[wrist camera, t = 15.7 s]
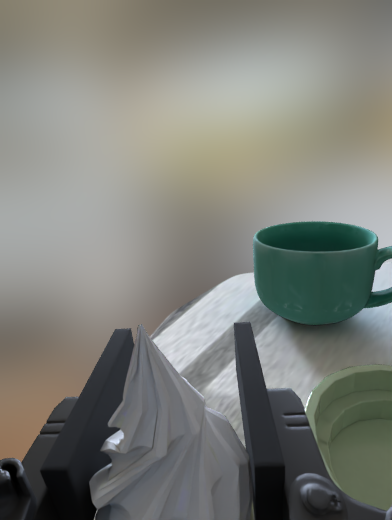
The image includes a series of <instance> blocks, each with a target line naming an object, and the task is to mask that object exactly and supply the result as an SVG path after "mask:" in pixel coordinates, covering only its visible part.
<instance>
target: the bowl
mask: <svg viewBox="0 0 392 520" xmlns="http://www.w3.org/2000/svg"><path fill="white" fill-rule="evenodd" d="M305 413H306V415H307V418H308V421H309V423H310V427H311V429H312V431H313V434H314V437H315V439H316V442H317V445H318V447H319V450H320V453H321V456H322V458H323V461H324V464H325V466H326V469H327V471H328V473H329V475H330V477H331V479H332V480H333V482H334V483H335V484H336V486H338V487H339V488H340V489H341V490H342V491H343V492H344V493H345V494H347V495H348V496H350V497H351V498H353V499H355V500H357V501H359V502H362V503H365V504H368V505H371V506H374V507H377V508H380V509H383V510H386V511H388V510H389V508H390V507H391V506H392V366H390V365H380V364H373V365H364V366H354V367H350V368H349V367H348V368H346V369H343V370H341V371H338V372H336V373H333V374H331V375H328V376H327V377H326V378H325V379H324V380H323V381H322V382H321V383H320V384H319V385H317V386H316V387H315V388H314V389H313V390H312V392H311V394H310V397H309V400H308V402H307V405H306V408H305Z"/></svg>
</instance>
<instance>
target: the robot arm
mask: <svg viewBox="0 0 392 520" xmlns="http://www.w3.org/2000/svg"><path fill="white" fill-rule="evenodd" d="M234 336H235V355H236V372H237V380H238V388H239V396H240V404H241V412H242V420H243V428H244V436H245V444H246V451H247V453H248V454H249V457H250V467H251V477H252V488H253V500H252V501H253V509H254V517H255V520H392V506H391V507H390V508H389V510H388V511H386V510H383V509H380V508H377V507H374V506H371V505H368V504H365V503H362V502H359V501H357V500H355V499H353V498H351V497H350V496H348V495H347V494H345V493H344V492H343V491H342V490H341V489H340V488H339V487H338V486H336V484H335V483H334V482H333V480H332V479H331V477H330V475H329V473H328V471H327V469H326V466H325V464H324V461H323V458H322V456H321V453H320V450H319V447H318V445H317V442H316V439H315V437H314V434H313V431H312V429H311V427H310V423H309V421H308V418H307V415H306V413H305V410H304V407H303V404H302V402H301V399H300V398H299V397H298V396H297V395H296V394H295V392H294V391H293V390H292V389H291V388H281V389H266V385H265V381H264V377H263V373H262V368H261V364H260V360H259V356H258V352H257V348H256V344H255V340H254V335H253V331H252V327H251V323H250V322H242V323H234ZM133 349H134V343H133V337H132V332H131V329H130V328H129V329H115V331H114V333H113V335H112V336H111V338H110V340H109V342H108V344H107V346H106V348H105V349H104V351H103V353H102V355H101V357H100V359H99V361H98V362H97V364H96V366H95V368H94V370H93V372H92V374H91V376H90V378H89V379H88V381H87V383H86V385H85V387H84V389H83V390H82V392H81V394H80V396H79V397H66V398H65V399H64V400H63V401H62V402H61V403H59V404H58V405H57V406H56V407H55V408H54V410H53V411H52V413H51V415H50V416H49V418H48V420H47V423H46V424H45V425H44V426H43V428H42V429H41V431H40V435H38V436H37V438H36V439H35V441H34V443H33V444H32V446H31V448H30V449H29V451H28V453H27V454H26V456H25V457H24V459H23V461H22V462H20V461H19V460H17V459H15V458H8V459H2V460H0V520H94V517H95V514H96V511H97V508H96V507H95V505H94V504H93V502H92V498H91V491H90V485H89V482H90V480H91V478H92V477H93V476H94V474H95V473H97V472H98V471H100V470H101V469H103V468H104V467H106V466H107V465H109V464H110V463H112V459H111V458H110V456H109V455H108V454H106V453H103V452H101V451H100V450H101V448H102V446H103V444H104V442H105V440H106V439H108V438H109V437H111V436H112V435H113V434H115V433H116V432H118V431H119V430H120V428H118V427H109V426H108V422H109V420H110V419H111V417H112V416H113V414H114V413H115V411H116V410H117V408H118V407H119V406H120V404H121V403H122V401H123V392H124V386H125V382H126V378H127V373H128V369H129V365H130V361H131V357H132V353H133Z"/></svg>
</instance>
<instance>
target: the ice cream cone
mask: <svg viewBox="0 0 392 520" xmlns="http://www.w3.org/2000/svg"><path fill="white" fill-rule="evenodd" d="M108 426H109V427H118V428H120V430H119V431H118V432H116V433H115V434H113V435H112V436H111V437H109V438H108V439H106V440H105V442H104V444H103V446H102V448H101V450H100V451H101V452H103V453H106V454H108V455H109V456H110V458H111V459H112V463H110V464H109V465H107V466H106V467H104V468H103V469H101V470H100V471H98V472H97V473H95V474H94V476H93V477H92V478H91V480H90V482H89V485H90V491H91V498H92V502H93V504H94V505H95V507H96V508H97V510H98V511H97V514H96V517H95V520H255V517H254V509H253V501H252V500H253V488H252V477H251V467H250V457H249V454H248V453H247V451H246V449H245V448H244V446H243V444H242V443H241V441H240V439H239V438H238V436H237V434H236V433H235V431H234V429H233V428H232V426H231V424H230V423H229V421H228V419H227V418H226V416H224V415H223V414H221V413H219V412H217V411H215V410H212V409H210V408H208V407H206V406H205V398H204V397H203V396H202V395H201V394H200V393H199V392H198V391H197V390H196V389H195V388H193V387H192V386H191V385H190V384H189V383H188V381H187V380H186V379H185V378H183V377H181V376H180V375H179V373H178V372H177V371H176V370H175V368H174V367H173V366H172V365H171V364H170V362H169V361H168V360H167V359H166V357H165V356H164V355H163V354H162V352H161V351H160V350H159V349H158V347H157V346H156V345H155V344H154V342H153V341H152V340H151V338H150V337H149V335H148V334H147V332H146V331H145V329H144V327H143V326H142V324H141V326H140V325H138V328H137V336H136V340H135V344H134V349H133V353H132V357H131V361H130V365H129V369H128V373H127V378H126V382H125V386H124V392H123V401H122V403H121V404H120V406H119V407H118V408H117V410H116V411H115V413H114V414H113V416H112V417H111V419H110V420H109V422H108Z"/></svg>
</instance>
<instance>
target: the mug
mask: <svg viewBox="0 0 392 520" xmlns="http://www.w3.org/2000/svg"><path fill="white" fill-rule="evenodd" d="M377 247H378V237H377V235H376V234H375V233H374V232H372V231H370V230H368V229H365V228H362V227H359V226H355V225H350V224H343V223H335V222H294V223H286V224H279V225H274V226H270V227H267V228H264V229H262V230H260V231H258V232H257V233H256V234H255V235H254V239H253V253H254V254H253V256H254V278H255V286H256V290H257V293H258V296H259V298H260V299H261V301H262V302H263V303H264V305H265V306H266V307H267V308H269V309H270V310H271V311H273V312H274V313H276V314H277V315H279V316H281V317H284V318H286V319H288V320H291V321H293V322H297V323H300V324H306V325H323V324H330V323H336V322H340V321H343V320H346V319H348V318H350V317H352V316H354V315H356V314H357V313H358V312H359V311H361V310H362V309H363V308H372V307H378V306H382V305H385V304H388V303H391V302H392V287H391V288H389V289H386V290H382V291H377V292H371V291H372V286H373V281H374V275H375V270H378V269H380V267H381V265H382V264H383V262H385V261H386V260H388V259H391V258H392V246H390V247H386V248H382V249H379V250H378V249H377Z"/></svg>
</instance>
